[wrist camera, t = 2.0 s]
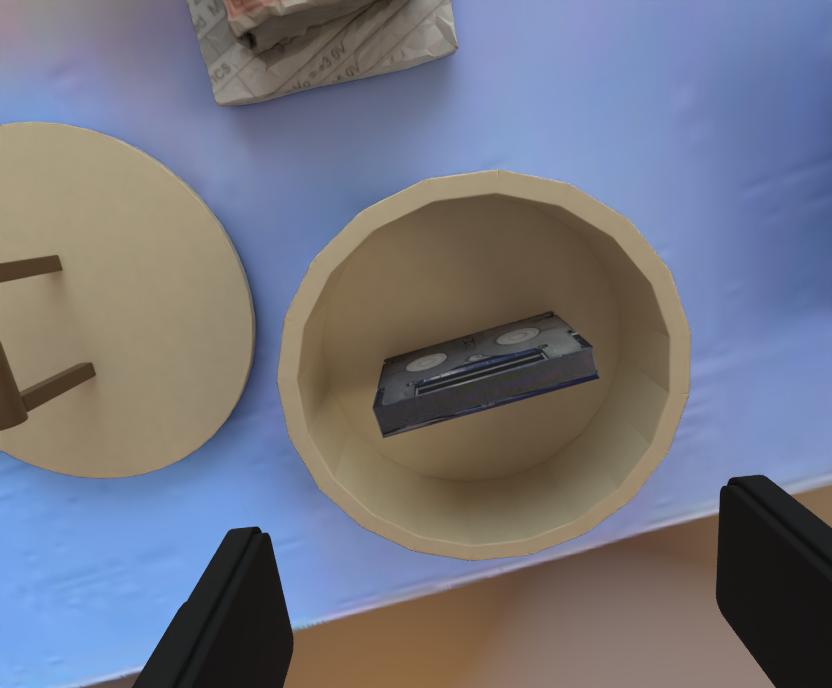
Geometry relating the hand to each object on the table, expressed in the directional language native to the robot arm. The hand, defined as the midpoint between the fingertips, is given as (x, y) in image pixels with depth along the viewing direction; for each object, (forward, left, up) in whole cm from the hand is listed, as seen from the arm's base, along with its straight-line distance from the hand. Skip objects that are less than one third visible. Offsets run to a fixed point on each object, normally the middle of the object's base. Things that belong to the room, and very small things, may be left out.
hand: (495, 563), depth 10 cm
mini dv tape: (-1, 0, -15) cm, 15 cm away
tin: (-1, 0, -15) cm, 15 cm away
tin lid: (+17, -4, -14) cm, 23 cm away
